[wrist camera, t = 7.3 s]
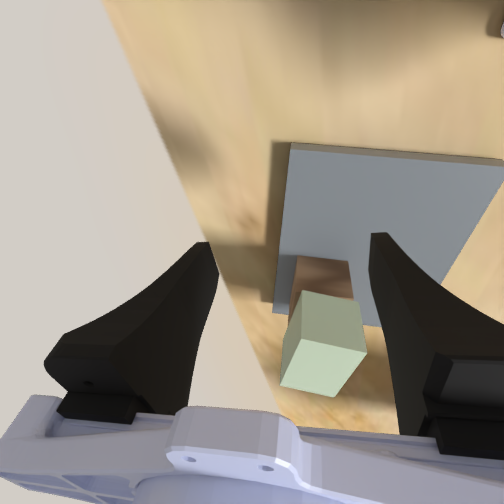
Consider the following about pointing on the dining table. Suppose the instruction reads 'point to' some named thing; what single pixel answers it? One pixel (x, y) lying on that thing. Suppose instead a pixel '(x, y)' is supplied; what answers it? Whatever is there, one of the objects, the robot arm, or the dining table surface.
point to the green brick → (322, 344)
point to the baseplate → (379, 211)
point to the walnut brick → (320, 279)
